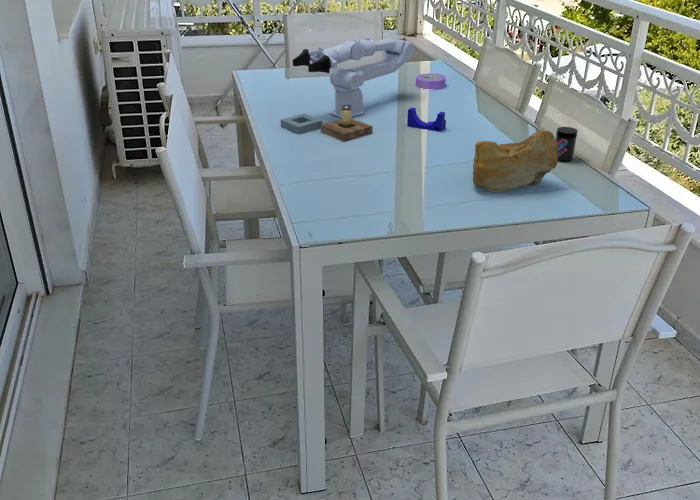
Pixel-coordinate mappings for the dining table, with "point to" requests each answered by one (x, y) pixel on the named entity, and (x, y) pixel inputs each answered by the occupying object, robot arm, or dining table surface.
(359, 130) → the socket block
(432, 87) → the masking tape
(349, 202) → the dining table surface
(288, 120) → the block
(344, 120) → the spice jar
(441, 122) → the blue cradle block
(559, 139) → the supplement container
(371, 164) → the dining table surface
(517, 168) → the rough brown rock
